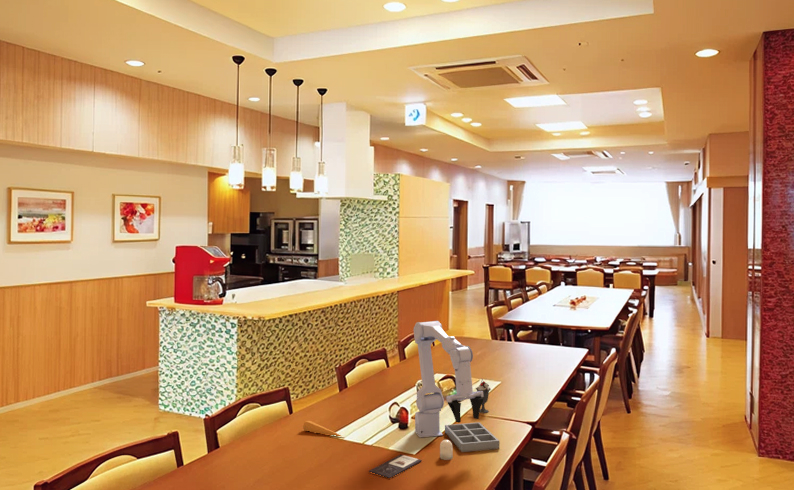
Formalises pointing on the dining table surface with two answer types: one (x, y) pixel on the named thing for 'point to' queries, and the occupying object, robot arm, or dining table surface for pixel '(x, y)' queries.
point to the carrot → (317, 428)
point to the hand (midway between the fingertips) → (467, 420)
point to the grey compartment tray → (471, 437)
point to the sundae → (485, 389)
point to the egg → (446, 450)
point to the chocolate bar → (395, 466)
